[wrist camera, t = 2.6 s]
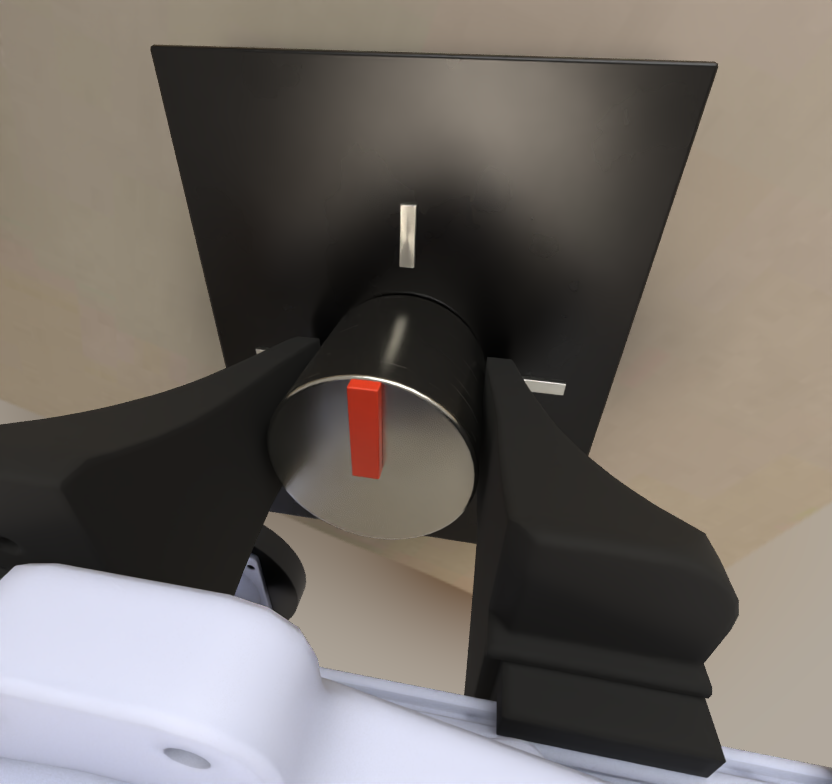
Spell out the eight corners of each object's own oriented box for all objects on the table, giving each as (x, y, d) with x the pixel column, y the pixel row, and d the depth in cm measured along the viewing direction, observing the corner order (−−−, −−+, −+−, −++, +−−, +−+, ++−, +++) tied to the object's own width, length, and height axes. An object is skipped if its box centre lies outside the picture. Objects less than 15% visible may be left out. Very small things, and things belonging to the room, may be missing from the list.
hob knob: (476, 440, 13) (466, 566, 10) (334, 422, 14) (275, 535, 10) (495, 302, 11) (492, 402, 7) (321, 286, 11) (239, 372, 8)
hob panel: (548, 494, 18) (555, 561, 15) (290, 458, 19) (257, 514, 17) (669, 69, 10) (726, 60, 8) (223, 55, 12) (142, 42, 9)
